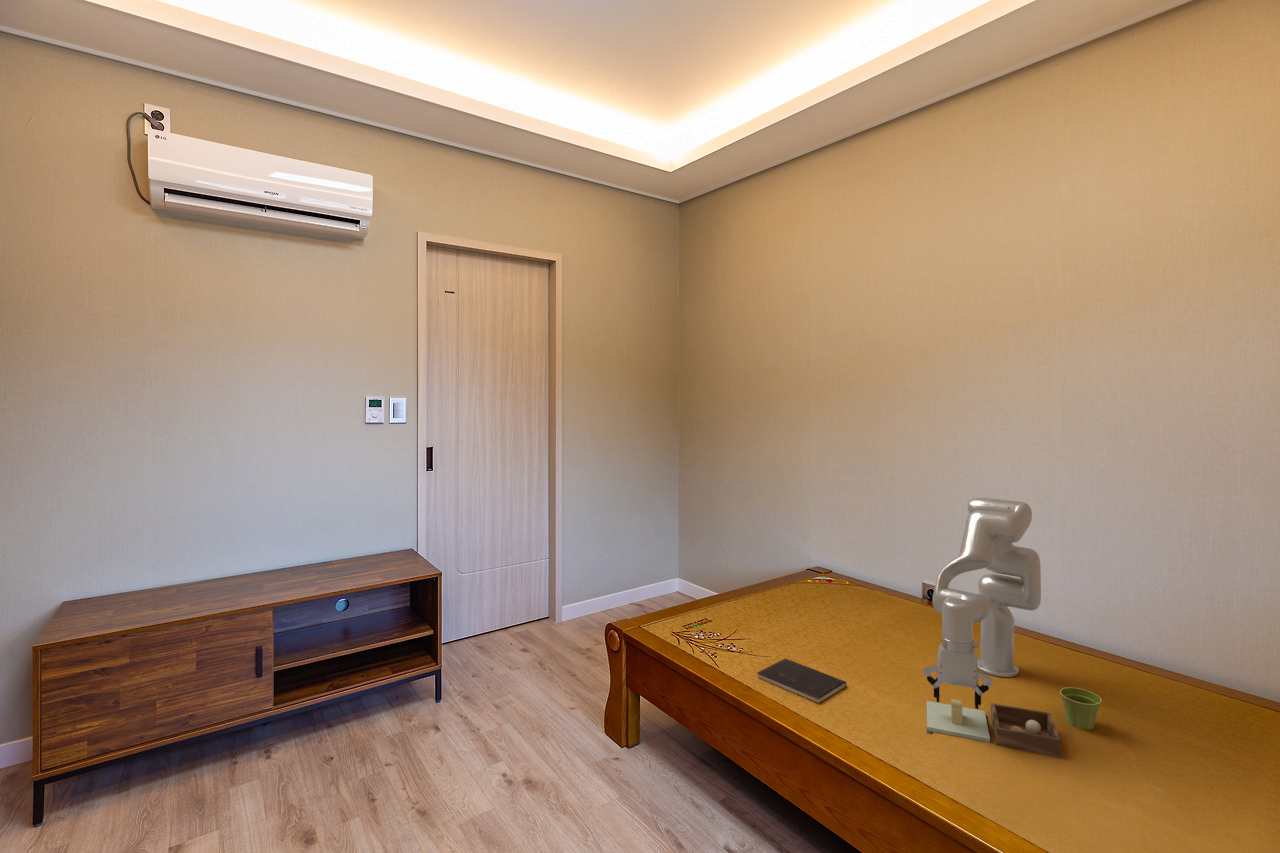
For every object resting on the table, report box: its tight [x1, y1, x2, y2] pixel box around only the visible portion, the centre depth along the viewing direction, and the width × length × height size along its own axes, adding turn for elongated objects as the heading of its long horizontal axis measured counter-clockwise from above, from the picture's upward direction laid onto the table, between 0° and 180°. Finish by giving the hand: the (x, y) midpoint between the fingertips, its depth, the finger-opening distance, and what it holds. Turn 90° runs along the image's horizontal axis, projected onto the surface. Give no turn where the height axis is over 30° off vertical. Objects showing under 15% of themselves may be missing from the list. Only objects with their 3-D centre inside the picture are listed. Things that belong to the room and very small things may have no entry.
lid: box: [926, 698, 991, 743], centre depth 171 cm, size 15×15×5 cm
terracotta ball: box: [1009, 726, 1024, 732], centre depth 162 cm, size 4×4×4 cm
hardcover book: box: [756, 657, 847, 704], centre depth 198 cm, size 16×23×2 cm
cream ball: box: [1025, 720, 1041, 734], centre depth 165 cm, size 4×4×4 cm
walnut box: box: [990, 702, 1062, 758], centre depth 164 cm, size 14×14×5 cm
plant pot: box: [1059, 686, 1103, 731], centre depth 169 cm, size 9×9×9 cm
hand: (956, 703), depth 171 cm, fingers open, 9 cm apart
